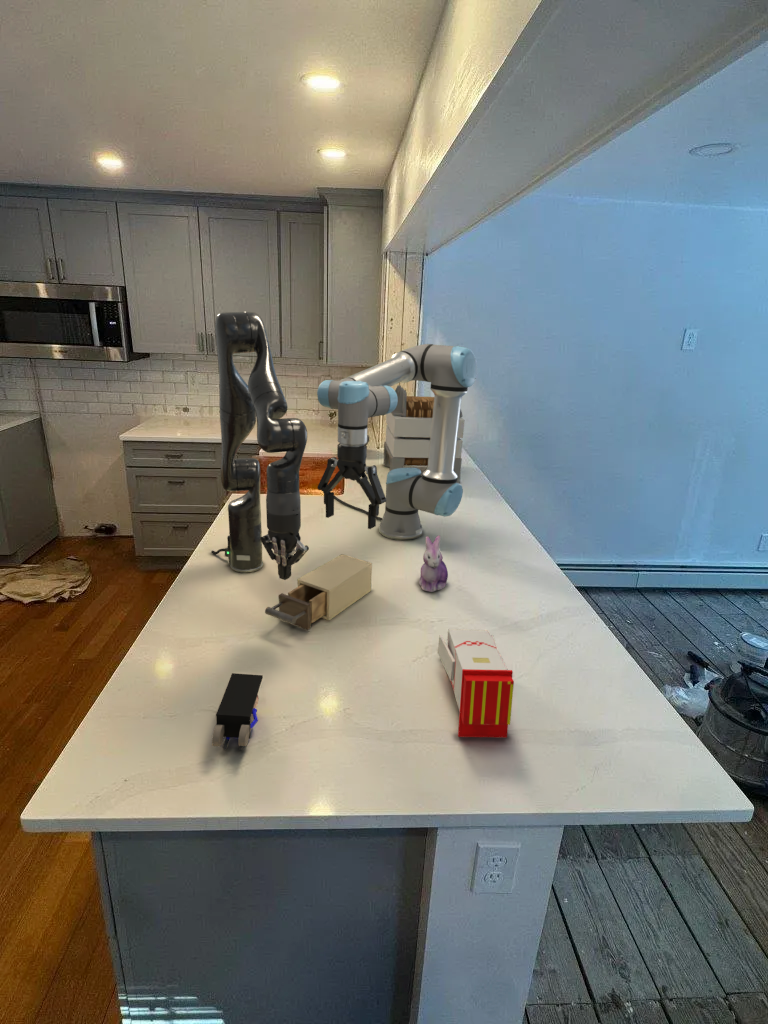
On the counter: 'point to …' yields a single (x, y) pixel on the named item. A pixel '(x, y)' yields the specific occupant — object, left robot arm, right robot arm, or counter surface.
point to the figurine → (433, 567)
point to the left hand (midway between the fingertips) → (284, 578)
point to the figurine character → (237, 710)
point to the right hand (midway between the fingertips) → (350, 521)
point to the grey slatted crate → (414, 433)
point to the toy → (478, 682)
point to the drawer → (300, 606)
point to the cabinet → (340, 582)
